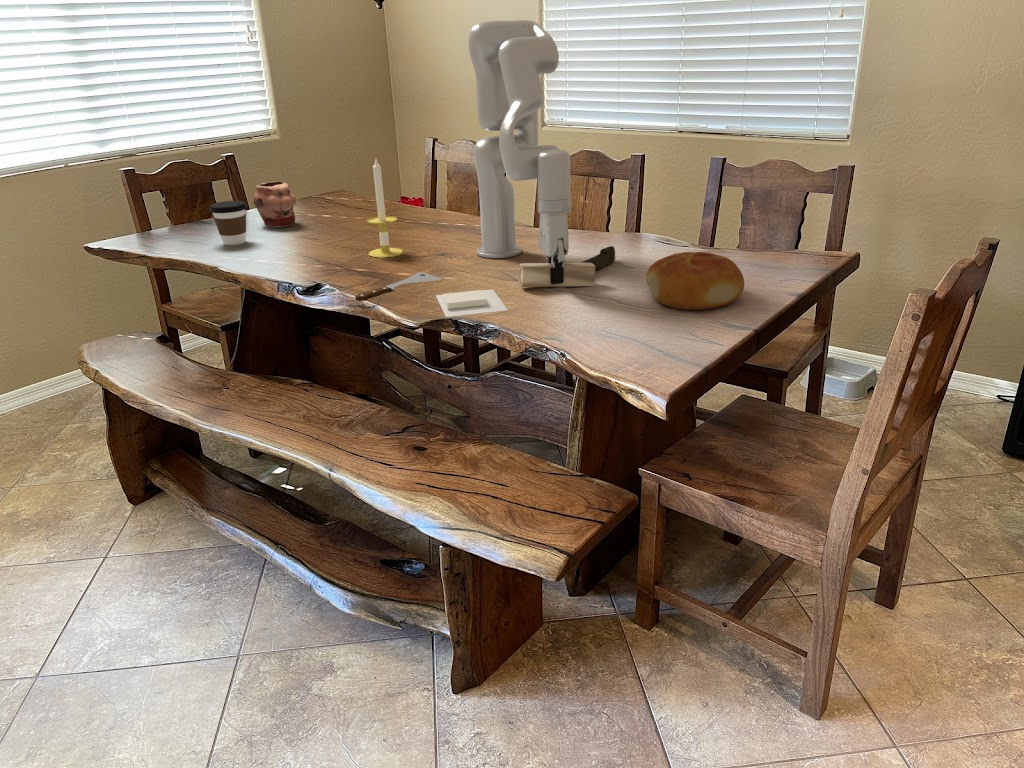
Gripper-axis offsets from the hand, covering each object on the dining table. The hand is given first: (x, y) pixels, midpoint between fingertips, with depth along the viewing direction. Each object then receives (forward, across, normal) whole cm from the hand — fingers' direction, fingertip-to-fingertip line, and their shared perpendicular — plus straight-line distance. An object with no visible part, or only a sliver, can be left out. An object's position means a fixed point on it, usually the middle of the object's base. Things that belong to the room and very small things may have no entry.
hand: (555, 280), depth 189 cm
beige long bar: (+1, 0, 0) cm, 1 cm away
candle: (+2, -47, -37) cm, 60 cm away
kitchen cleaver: (+2, -12, -36) cm, 38 cm away
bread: (+2, +17, +28) cm, 33 cm away
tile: (0, +6, -19) cm, 20 cm away
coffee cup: (+2, -76, -81) cm, 111 cm away
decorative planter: (+2, -97, -69) cm, 119 cm away
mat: (+2, +6, -22) cm, 23 cm away
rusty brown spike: (+2, -12, +14) cm, 19 cm away
